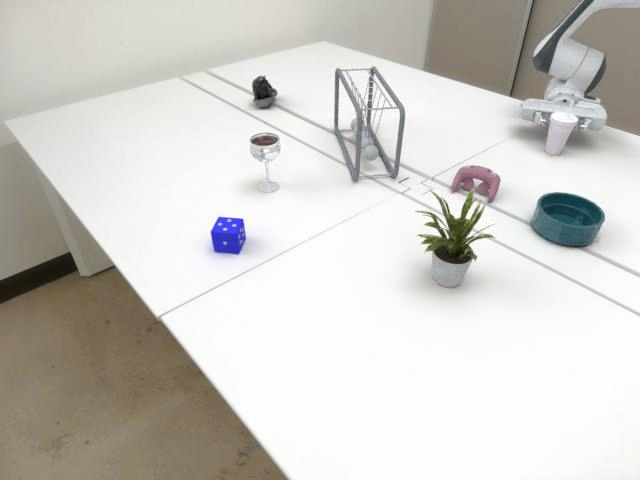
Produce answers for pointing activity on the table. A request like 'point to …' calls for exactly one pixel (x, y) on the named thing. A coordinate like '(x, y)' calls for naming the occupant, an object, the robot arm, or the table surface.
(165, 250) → the table surface
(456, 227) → the house plant
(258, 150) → the wineglass
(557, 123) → the smoothie
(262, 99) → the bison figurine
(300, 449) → the table surface
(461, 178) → the video game controller
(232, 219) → the die
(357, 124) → the newton's cradle
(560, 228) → the bowl
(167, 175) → the table surface
